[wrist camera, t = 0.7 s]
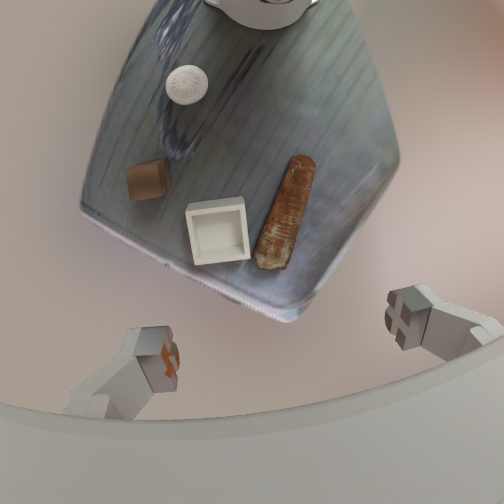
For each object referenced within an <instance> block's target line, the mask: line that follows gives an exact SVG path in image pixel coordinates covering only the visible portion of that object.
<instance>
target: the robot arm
mask: <svg viewBox="0 0 504 504" xmlns="http://www.w3.org/2000/svg"><path fill="white" fill-rule="evenodd" d="M318 1H319V0H205V2H206V3H208V4H210V5H212V6H215V7H217V8H220V9H221V10H223V11H224V12H225V13H226V14H227V15H228V16H229V17H230V18H231V19H233V20H234V21H236V22H238V23H239V24H242V25H244V26H247V27H250V28H254V29H261V30H273V29H279V28H283V27H286V26H288V25H290V24H292V23H294V22H295V21H297V20H298V19H299V18H300V17H301V16H302V14H303V13H304V11H305V10H306V9H307V8H308V7H309V6H311V5H313V4H315V3H317V2H318ZM387 301H388V303H389V306H388V308H387V309H386V311H385V324H386V327H387V329H388V331H389V332H390V333H391V334H393V335H396V339H395V341H396V342H397V343H398V345H399V346H400V347H401V349H402V350H403V351H404V350H408V349H411V348H415V347H418V346H421V347H423V348H425V349H426V350H428V351H430V352H431V353H433V354H435V355H437V356H438V357H440V358H442V359H443V360H445V361H447V362H446V363H443V364H441V365H439V366H436V367H434V368H431V369H428V370H426V371H423V372H421V373H418V374H415V375H412V376H410V377H407V378H404V379H401V380H398V381H395V382H391V383H388V384H385V385H382V386H379V387H375V388H372V389H368V390H365V391H361V392H358V393H354V394H350V395H346V396H343V397H338V398H334V399H330V400H326V401H321V402H317V403H312V404H307V405H302V406H297V407H292V408H286V409H281V410H275V411H268V412H261V413H253V414H246V415H237V416H227V417H217V418H203V419H185V420H133V419H134V418H135V417H136V415H137V414H138V413H139V412H140V410H141V409H142V408H143V407H144V406H145V404H146V403H147V402H148V401H149V399H150V398H151V397H152V396H153V394H154V393H159V392H174V391H176V388H177V380H178V377H177V374H176V371H177V370H178V369H179V364H180V362H179V353H178V349H177V345H176V344H175V343H173V341H172V338H173V333H172V331H171V328H170V327H169V326H156V327H143V328H131V329H129V330H128V332H127V335H126V338H125V340H124V343H123V345H122V348H121V351H120V354H119V356H118V357H114V358H113V359H112V360H110V361H109V362H108V363H107V364H105V365H104V366H103V367H102V368H100V369H99V370H98V371H97V372H95V373H94V374H93V375H92V376H90V377H89V378H88V379H87V380H85V381H84V382H83V383H81V384H80V385H79V386H78V387H76V388H75V389H74V390H73V391H71V393H70V396H69V398H68V401H67V403H66V405H65V408H64V410H63V413H62V414H56V413H49V412H42V411H36V410H31V409H25V408H21V407H16V406H12V405H7V404H3V403H0V504H504V327H503V326H502V325H501V324H500V323H499V322H498V321H497V320H496V319H495V318H492V317H490V316H487V315H484V314H481V313H477V312H475V311H472V310H469V309H466V308H463V307H460V306H457V305H454V304H451V303H448V302H446V303H444V302H443V301H442V300H441V299H440V298H439V297H437V296H436V295H435V294H434V293H433V292H432V291H431V290H430V289H429V288H428V287H427V286H426V285H425V284H422V283H420V284H416V285H413V286H410V287H406V288H402V289H397V290H393V291H390V292H389V294H388V297H387Z"/></svg>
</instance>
